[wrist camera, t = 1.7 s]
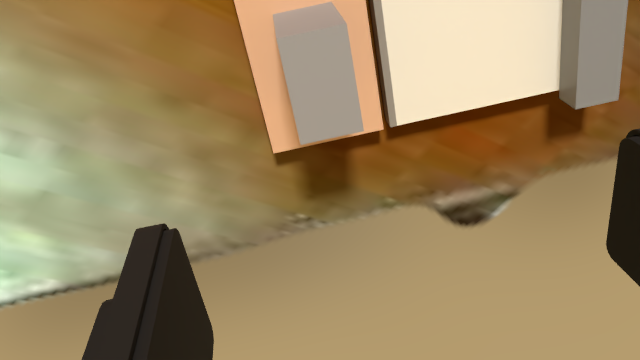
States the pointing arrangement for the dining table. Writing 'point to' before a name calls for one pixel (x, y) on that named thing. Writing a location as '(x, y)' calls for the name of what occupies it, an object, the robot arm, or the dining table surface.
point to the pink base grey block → (311, 69)
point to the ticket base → (495, 53)
